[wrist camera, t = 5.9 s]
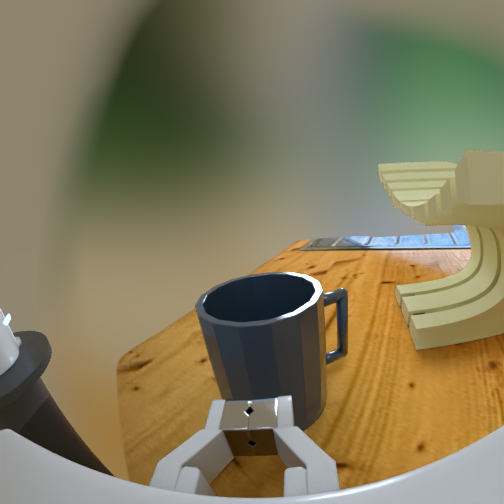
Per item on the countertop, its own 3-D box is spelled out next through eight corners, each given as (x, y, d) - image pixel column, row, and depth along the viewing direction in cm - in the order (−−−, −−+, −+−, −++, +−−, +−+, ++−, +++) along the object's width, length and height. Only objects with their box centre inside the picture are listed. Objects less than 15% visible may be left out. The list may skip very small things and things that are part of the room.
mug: (243, 452, 15) (207, 341, 13) (217, 387, 23) (189, 289, 20) (373, 395, 18) (382, 282, 16) (323, 351, 26) (317, 256, 23)
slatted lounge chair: (561, 367, 9) (596, 167, 5) (434, 411, 14) (466, 150, 10) (465, 265, 37) (463, 161, 32) (385, 273, 42) (377, 164, 37)
